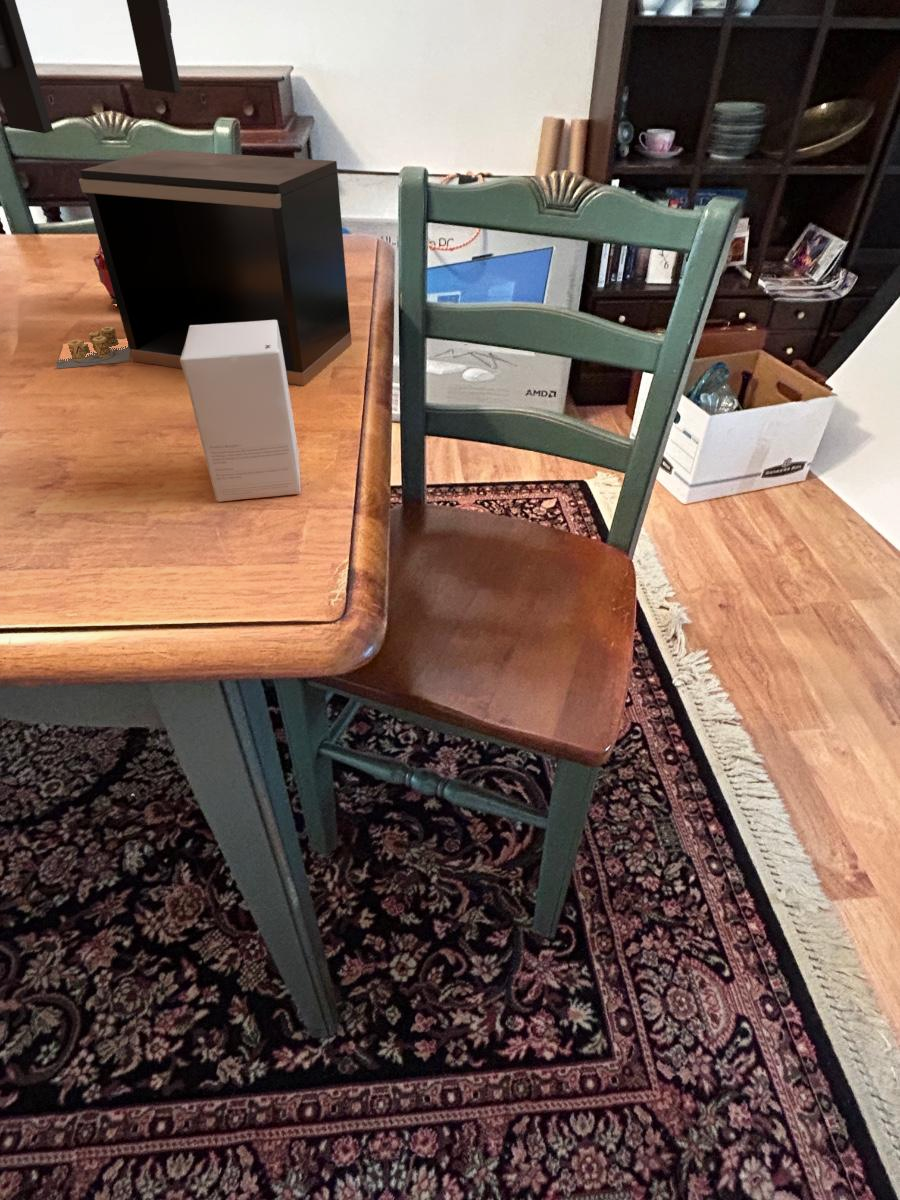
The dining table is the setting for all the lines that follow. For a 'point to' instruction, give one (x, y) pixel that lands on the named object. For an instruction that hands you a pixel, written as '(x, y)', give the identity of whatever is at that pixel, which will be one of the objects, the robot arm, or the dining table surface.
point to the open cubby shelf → (224, 251)
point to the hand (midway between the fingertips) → (103, 108)
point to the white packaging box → (243, 408)
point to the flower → (104, 273)
